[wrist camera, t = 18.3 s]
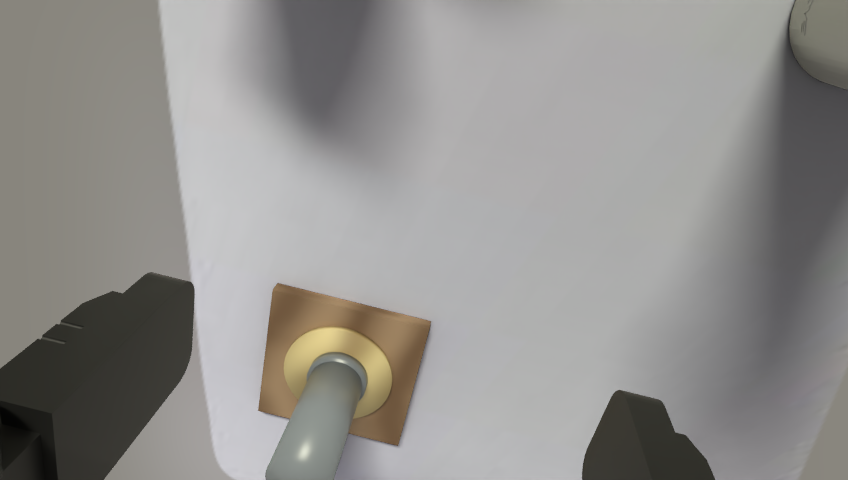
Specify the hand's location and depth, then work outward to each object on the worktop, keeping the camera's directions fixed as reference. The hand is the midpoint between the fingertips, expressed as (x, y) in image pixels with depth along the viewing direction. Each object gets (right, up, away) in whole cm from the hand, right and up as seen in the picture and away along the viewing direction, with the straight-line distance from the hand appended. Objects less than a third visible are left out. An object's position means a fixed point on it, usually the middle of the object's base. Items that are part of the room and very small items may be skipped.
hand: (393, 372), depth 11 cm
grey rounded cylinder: (-7, -10, +41) cm, 43 cm away
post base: (-7, -9, +43) cm, 44 cm away
